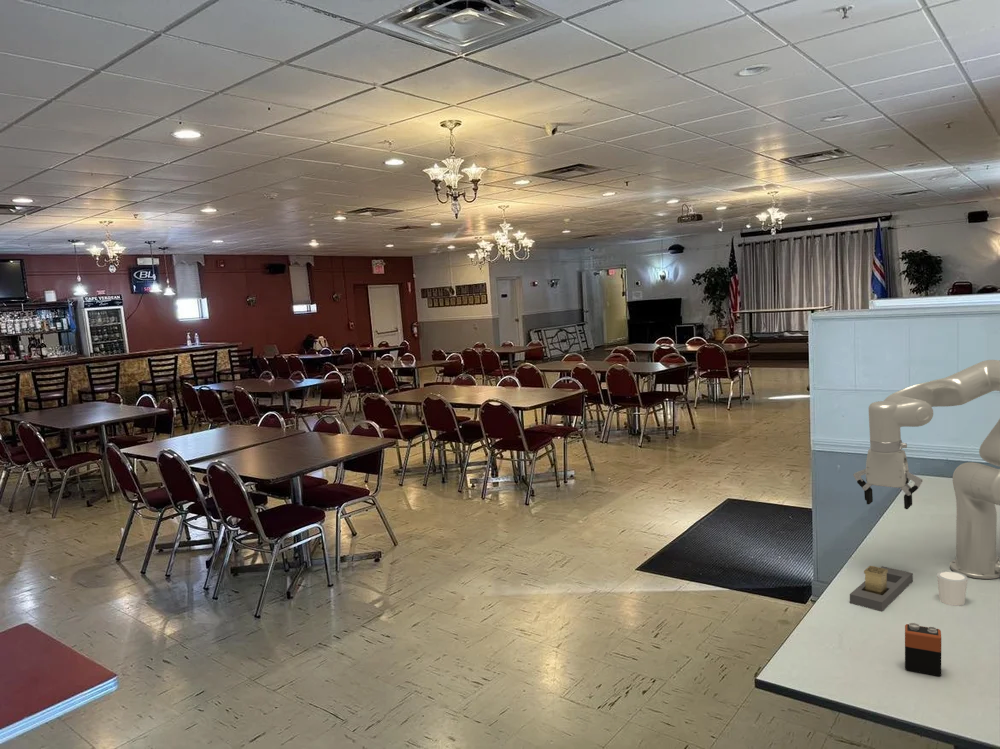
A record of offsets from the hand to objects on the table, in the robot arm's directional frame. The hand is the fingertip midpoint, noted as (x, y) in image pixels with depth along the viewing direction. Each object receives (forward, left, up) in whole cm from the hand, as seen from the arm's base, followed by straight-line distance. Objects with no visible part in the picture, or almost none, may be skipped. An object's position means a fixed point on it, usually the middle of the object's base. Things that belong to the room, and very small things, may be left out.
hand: (888, 505), depth 196 cm
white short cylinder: (-16, +3, -23) cm, 28 cm away
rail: (-1, +8, -22) cm, 24 cm away
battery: (-21, +43, -23) cm, 53 cm away
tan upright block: (-1, +13, -22) cm, 26 cm away
